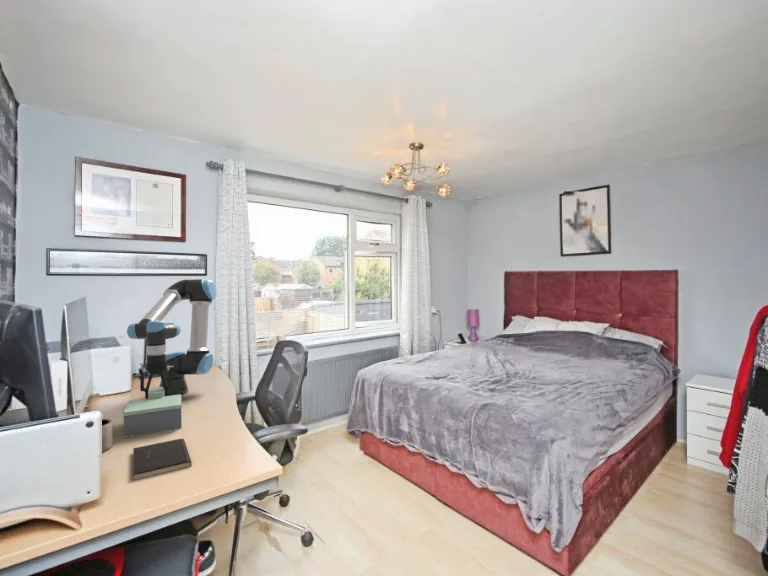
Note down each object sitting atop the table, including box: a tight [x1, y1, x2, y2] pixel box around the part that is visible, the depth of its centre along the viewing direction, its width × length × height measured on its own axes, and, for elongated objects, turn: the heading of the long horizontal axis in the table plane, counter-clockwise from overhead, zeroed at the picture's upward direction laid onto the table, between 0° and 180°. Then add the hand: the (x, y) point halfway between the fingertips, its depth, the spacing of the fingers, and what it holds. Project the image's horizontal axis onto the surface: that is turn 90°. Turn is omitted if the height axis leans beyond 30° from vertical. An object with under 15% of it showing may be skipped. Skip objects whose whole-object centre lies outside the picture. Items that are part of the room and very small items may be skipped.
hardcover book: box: [132, 437, 193, 480], centre depth 127 cm, size 16×23×2 cm
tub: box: [123, 407, 182, 438], centre depth 160 cm, size 18×20×8 cm
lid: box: [123, 386, 182, 417], centre depth 164 cm, size 27×20×5 cm
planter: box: [101, 418, 113, 453], centre depth 135 cm, size 11×11×10 cm
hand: (156, 404), depth 172 cm, fingers closed on lid, 5 cm apart
